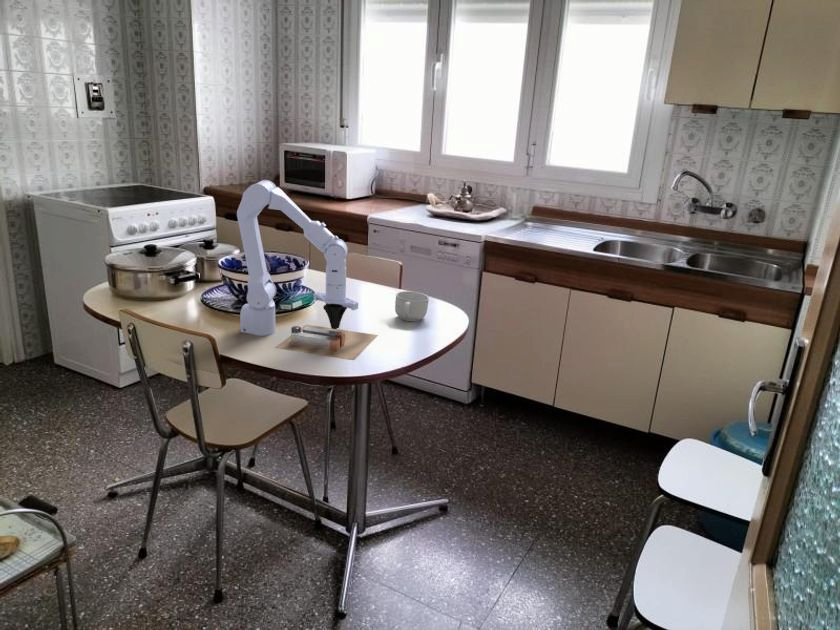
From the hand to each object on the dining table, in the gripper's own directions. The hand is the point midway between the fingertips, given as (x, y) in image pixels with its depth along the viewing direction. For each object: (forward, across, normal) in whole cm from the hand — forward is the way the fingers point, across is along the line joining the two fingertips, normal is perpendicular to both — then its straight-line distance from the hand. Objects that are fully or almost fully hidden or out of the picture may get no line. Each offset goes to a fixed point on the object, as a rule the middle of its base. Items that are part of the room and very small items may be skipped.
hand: (335, 328), depth 179 cm
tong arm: (+2, +1, -6) cm, 7 cm away
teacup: (+3, +8, +28) cm, 30 cm away
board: (+3, +2, -5) cm, 6 cm away
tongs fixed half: (+2, 0, -9) cm, 10 cm away
